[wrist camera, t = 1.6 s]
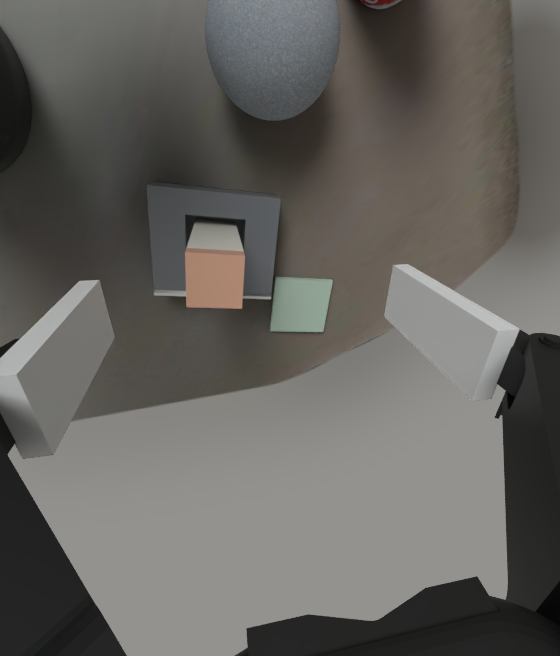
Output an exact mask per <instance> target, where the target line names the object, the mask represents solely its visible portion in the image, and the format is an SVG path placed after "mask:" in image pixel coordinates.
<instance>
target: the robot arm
mask: <svg viewBox="0 0 560 656" xmlns="http://www.w3.org/2000/svg"><path fill="white" fill-rule="evenodd" d="M30 124H31V101H30V94H29V89H28V85H27V81H26V78H25V75H24V72H23V69H22V66H21V64H20V62H19V59H18V57H17V55H16V53H15V51H14V49H13V47H12V45H11V43H10V42H9V40H8V38H7V37H6V35H5V33H4V32H3V30H2V29H1V27H0V172H1V171H3V170H4V169H6V168H7V167H9V166H10V165H11V164H12V163H13V162H14V161H15V160H16V159H17V157H18V156H19V155H20V153H21V151H22V150H23V148H24V146H25V144H26V141H27V138H28V135H29V131H30ZM384 317H385V318H386V319H387V320H388V321H389V322H390V323H391V324H392V325H393V326H394V327H395V328H397V330H398V331H399V332H401V333H402V334H403V335H404V336H405V337H406V338H407V339H408V340H409V341H410V342H411V343H412V344H413V345H414V346H415V347H416V348H417V349H418V350H419V351H420V352H421V353H422V354H423V355H424V356H425V357H426V358H427V359H428V360H430V361H431V362H432V363H433V364H434V365H435V366H436V367H437V368H438V369H439V370H440V371H441V372H442V373H443V374H444V375H445V376H446V377H447V378H448V379H449V380H450V381H451V382H452V383H453V384H454V385H455V386H457V387H458V388H459V389H460V390H461V391H462V392H463V393H464V394H465V395H466V396H467V397H468V398H469V399H470V400H471V401H479V400H486V399H492V396H493V393H494V391H495V389H496V386H497V384H498V385H500V386H501V387H502V388H503V389H504V390H506V392H505V395H504V397H503V399H502V402H501V404H500V406H499V409H498V411H497V413H496V416H495V418H499V417H500V415H502V416H503V446H504V475H505V503H506V504H505V506H506V533H507V534H506V535H507V563H508V591H507V597H506V600H503V599H500V598H496V597H492V596H489V595H488V593H487V592H486V590H485V588H484V587H483V585H482V584H481V582H480V580H479V579H478V577H473V578H468V579H464V580H459V581H455V582H451V583H446V584H441V585H437V586H433V587H428V588H425V589H424V590H422V591H421V592H419V593H418V594H416V595H415V596H413V597H412V598H411V599H409V600H407V601H406V602H404V603H403V604H401V605H400V606H398V607H397V608H396V609H394V610H393V611H391V612H390V613H388V614H387V615H385V616H384V617H382V618H381V619H379V620H376V621H364V620H355V619H345V618H336V617H326V616H317V615H304V616H300V617H296V618H291V619H286V620H282V621H278V622H273V623H269V624H265V625H260V626H255V627H251V628H247V643H248V648H247V649H245V650H243V651H242V652H240V653H238V654H237V655H235V656H560V336H557V335H552V334H546V333H534V334H531V335H528V334H527V333H525V332H523V331H521V330H520V329H519V328H517V327H515V326H513V325H512V324H510V323H508V322H506V321H505V320H503V319H501V318H499V317H498V316H496V315H495V314H493V313H491V312H489V311H488V310H486V309H484V308H482V307H481V306H479V305H477V304H476V303H474V302H472V301H470V300H469V299H467V298H465V297H463V296H462V295H460V294H458V293H456V292H455V291H453V290H451V289H450V288H448V287H446V286H444V285H443V284H441V283H439V282H438V281H436V280H434V279H432V278H431V277H429V276H427V275H425V274H424V273H422V272H420V271H419V270H417V269H415V268H413V267H412V266H410V265H408V264H405V265H393V269H392V275H391V281H390V286H389V292H388V298H387V303H386V309H385V314H384ZM114 338H115V336H114V333H113V329H112V325H111V321H110V318H109V314H108V310H107V306H106V303H105V299H104V295H103V291H102V288H101V284H100V280H88V281H79V282H78V283H77V284H76V285H75V286H74V287H73V288H72V289H71V290H70V291H69V292H68V293H67V294H66V295H65V296H63V297H62V298H61V299H60V300H59V301H58V302H57V303H56V304H55V305H54V306H53V307H52V308H51V309H50V310H49V311H48V312H47V313H46V314H45V315H44V316H43V317H42V318H41V319H40V320H39V321H38V322H37V323H36V324H35V325H34V326H33V327H32V328H31V329H30V330H29V331H28V332H27V333H26V334H25V335H23V336H22V337H21V338H20V339H15V340H13V341H11V342H9V343H7V344H5V345H4V346H2V347H0V656H126V654H125V652H124V651H123V649H122V647H121V645H120V644H119V642H118V641H117V639H116V637H115V635H114V634H113V632H112V630H111V628H110V627H109V625H108V623H107V622H106V620H105V619H104V617H103V615H102V614H101V612H100V610H99V609H98V607H97V606H96V605H95V603H94V601H93V600H92V598H91V596H90V595H89V593H88V591H87V590H86V588H85V586H84V584H83V583H82V581H81V580H80V578H79V576H78V574H77V573H76V571H75V569H74V567H73V566H72V564H71V562H70V561H69V559H68V557H67V556H66V554H65V552H64V551H63V549H62V547H61V545H60V544H59V542H58V540H57V539H56V537H55V535H54V533H53V532H52V530H51V528H50V527H49V525H48V523H47V522H46V520H45V518H44V516H43V515H42V513H41V511H40V510H39V508H38V506H37V505H36V503H35V501H34V500H33V498H32V496H31V495H30V493H29V491H28V489H27V488H26V486H25V484H24V483H23V481H22V480H21V477H20V476H19V474H18V472H17V471H16V469H15V467H14V466H13V464H12V462H11V460H10V459H9V457H8V455H7V454H8V453H9V451H10V450H11V448H12V447H13V445H14V444H15V445H16V447H17V449H18V451H19V453H20V455H21V456H22V458H23V459H26V458H34V457H41V456H49V455H54V453H55V451H56V449H57V447H58V445H59V443H60V441H61V439H62V437H63V435H64V434H65V432H66V430H67V428H68V426H69V424H70V422H71V420H72V418H73V416H74V415H75V413H76V411H77V409H78V407H79V405H80V403H81V401H82V399H83V397H84V395H85V394H86V392H87V390H88V388H89V386H90V384H91V382H92V380H93V378H94V376H95V374H96V373H97V371H98V369H99V367H100V365H101V363H102V361H103V359H104V357H105V355H106V353H107V352H108V350H109V348H110V346H111V344H112V342H113V340H114Z"/></svg>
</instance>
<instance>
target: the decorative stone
mask: <svg viewBox="0 0 560 656" xmlns="http://www.w3.org/2000/svg"><path fill="white" fill-rule="evenodd" d="M205 32H206V46H207V52H208V57H209V60H210V64H211V67H212V70H213V72H214V75H215V77H216V79H217V81H218V83H219V85H220V86H221V88H222V90H223V91H224V92H225V94H226V95H227V96H228V98H229V99H230V100H231V101H232V102H233V103H234V104H235V105H236V106H237V107H239V108H240V109H241V110H243V111H244V112H246V113H247V114H249V115H251V116H253V117H256V118H259V119H263V120H269V121H279V120H285V119H289V118H292V117H294V116H296V115H298V114H300V113H302V112H303V111H305V110H306V109H307V108H309V107H310V106H311V105H312V104H313V103H314V102H315V101H316V100H317V99H318V97H319V96H320V95H321V93H322V92H323V91H324V89H325V87H326V86H327V84H328V82H329V80H330V78H331V75H332V73H333V70H334V67H335V64H336V60H337V56H338V50H339V43H340V22H339V14H338V8H337V4H336V0H209V3H208V8H207V14H206V27H205Z"/></svg>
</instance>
